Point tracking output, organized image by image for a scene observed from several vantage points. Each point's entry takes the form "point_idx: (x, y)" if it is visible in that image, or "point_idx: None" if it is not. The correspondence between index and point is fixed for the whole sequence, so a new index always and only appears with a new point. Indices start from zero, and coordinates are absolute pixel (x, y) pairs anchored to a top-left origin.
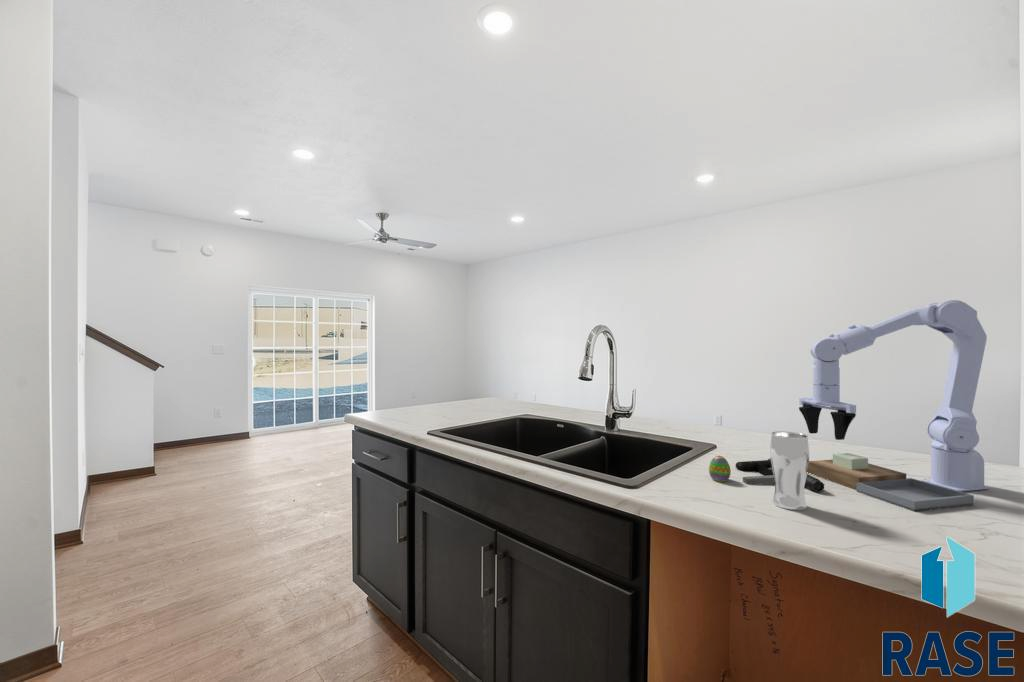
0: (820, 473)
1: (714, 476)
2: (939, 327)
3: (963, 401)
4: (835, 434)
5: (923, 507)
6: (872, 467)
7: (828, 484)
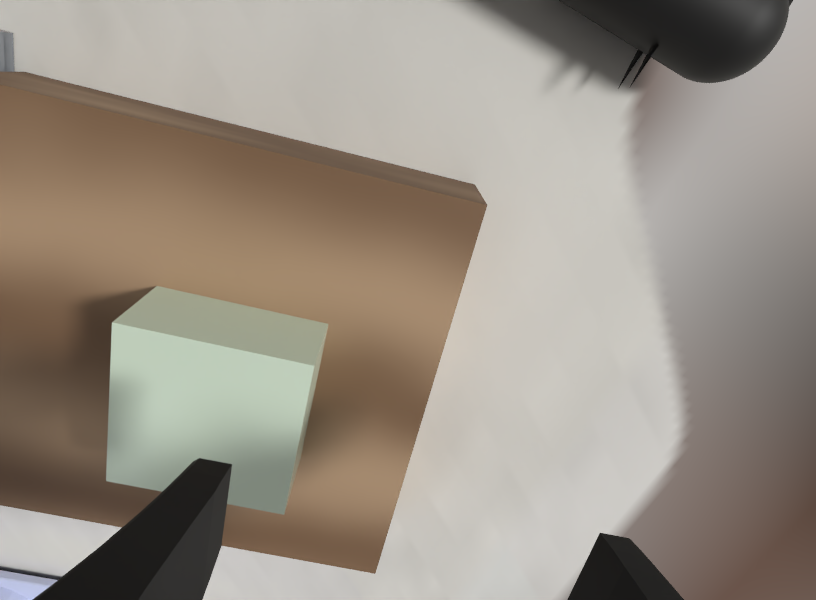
0: (343, 156)
1: None
2: None
3: None
4: (189, 498)
5: None
6: None
7: (208, 18)
